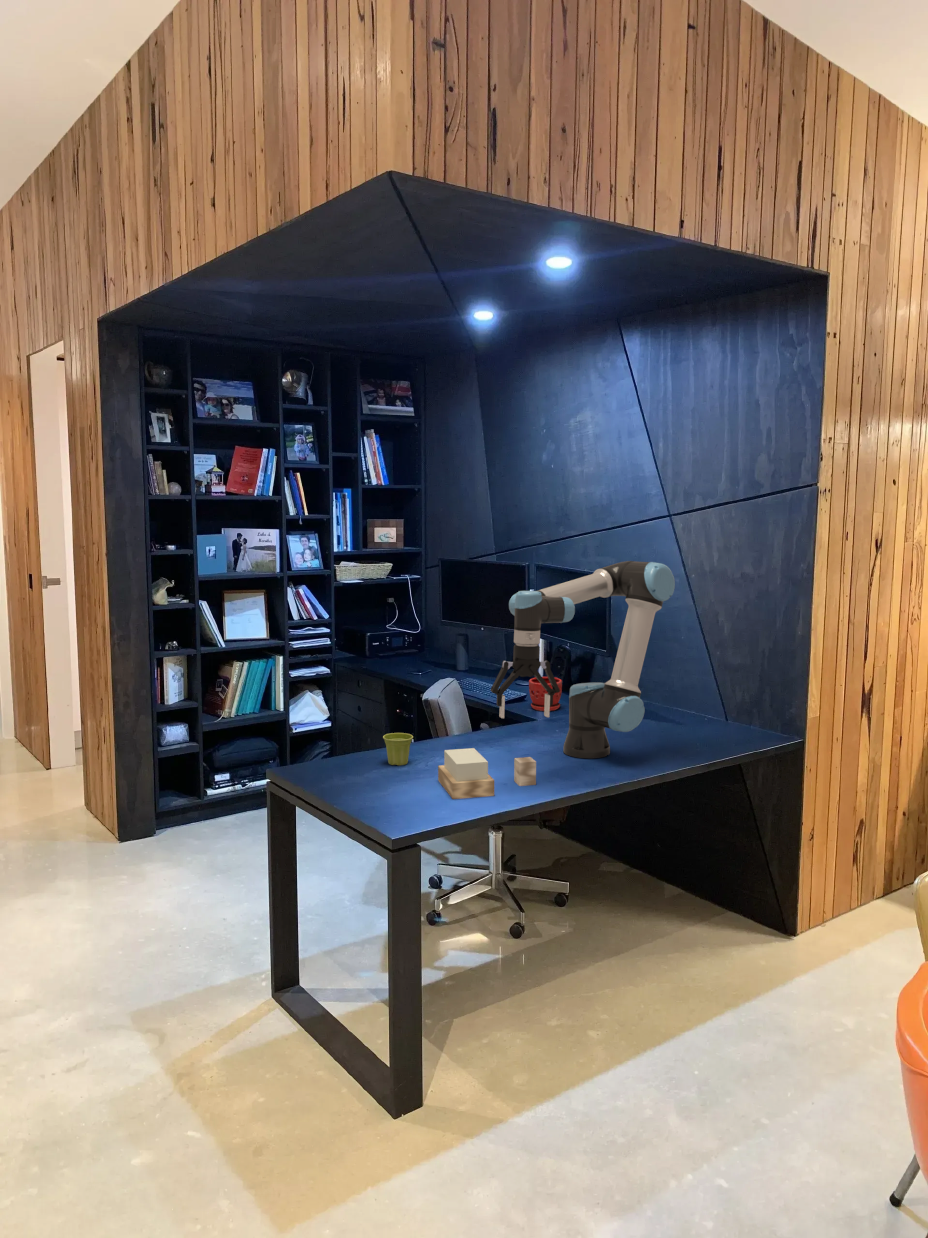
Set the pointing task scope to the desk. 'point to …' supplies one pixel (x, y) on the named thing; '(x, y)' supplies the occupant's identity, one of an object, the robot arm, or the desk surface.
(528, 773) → the ash block
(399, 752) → the plant pot
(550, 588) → the robot arm
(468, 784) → the bottom block
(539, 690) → the plant pot
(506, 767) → the desk surface
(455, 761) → the middle block
